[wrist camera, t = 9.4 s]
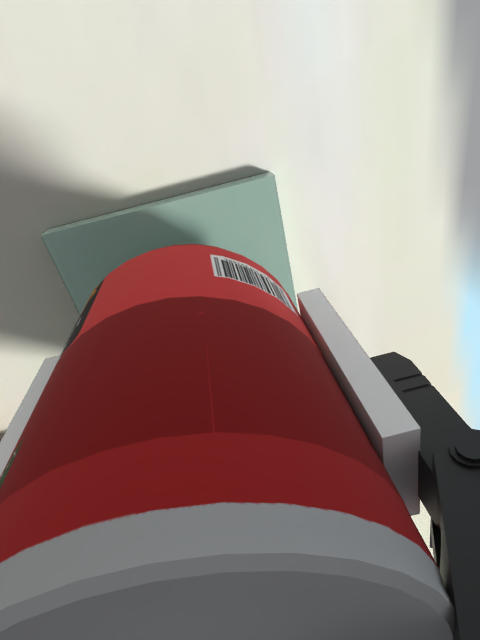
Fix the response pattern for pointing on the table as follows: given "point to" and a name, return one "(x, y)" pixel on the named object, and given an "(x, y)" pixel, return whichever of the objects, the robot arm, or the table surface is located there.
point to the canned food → (204, 477)
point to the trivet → (175, 233)
